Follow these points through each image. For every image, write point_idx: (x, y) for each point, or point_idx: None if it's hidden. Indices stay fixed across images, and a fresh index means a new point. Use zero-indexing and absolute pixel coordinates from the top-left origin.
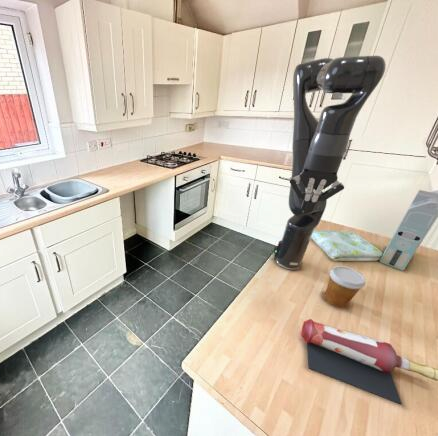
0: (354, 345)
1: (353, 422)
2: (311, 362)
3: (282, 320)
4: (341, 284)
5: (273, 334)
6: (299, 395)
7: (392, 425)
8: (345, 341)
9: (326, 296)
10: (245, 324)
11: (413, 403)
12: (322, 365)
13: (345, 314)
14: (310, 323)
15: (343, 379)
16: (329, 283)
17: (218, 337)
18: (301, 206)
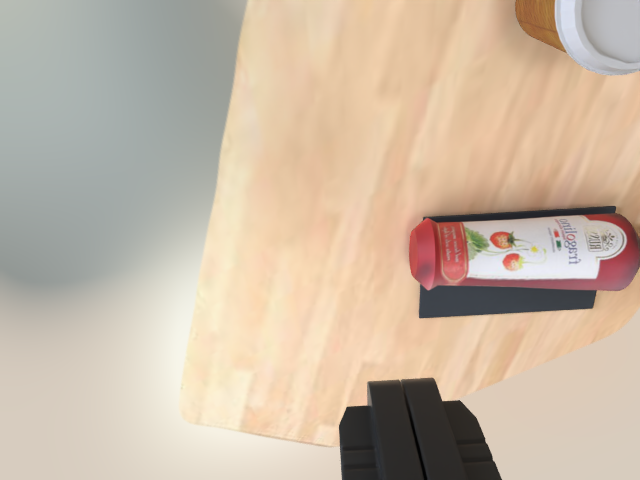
0: (536, 285)
1: (485, 376)
2: (426, 303)
3: (358, 204)
4: (587, 66)
5: (336, 266)
6: (396, 376)
7: (553, 351)
8: (516, 283)
9: (521, 14)
10: (259, 270)
11: (618, 292)
12: (450, 299)
13: (567, 67)
14: (430, 272)
15: (490, 310)
16: (543, 12)
17: (207, 339)
18: (340, 451)
